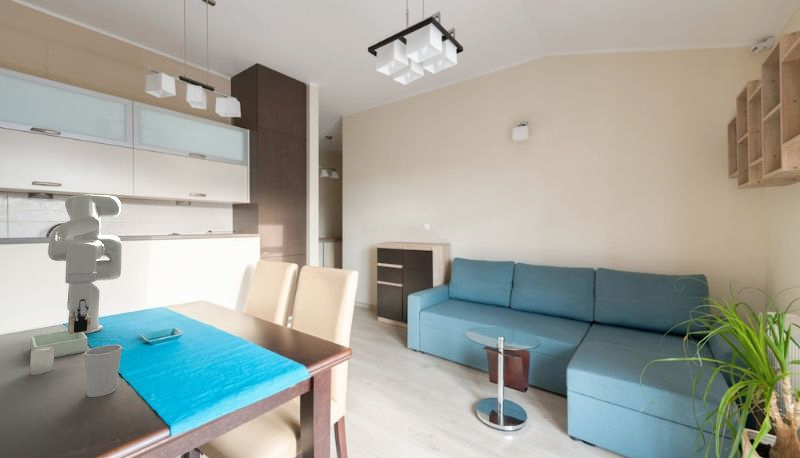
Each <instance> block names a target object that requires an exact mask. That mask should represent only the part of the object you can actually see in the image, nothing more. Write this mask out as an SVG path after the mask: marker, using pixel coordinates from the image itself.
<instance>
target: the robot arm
mask: <svg viewBox="0 0 800 458" xmlns="http://www.w3.org/2000/svg"><path fill="white" fill-rule="evenodd" d="M121 204H122V203H121V201H120V200H119V198H118V197H116V196H113V195H104V194H103V195H102V194H101V195H99V194H88V193H87V194H79V195H72V196H68V197H67V198H66V199H65V201H64V205H65V210H66V212H67V214H68V217H69V218H70V219H69V220H67V221H65V222H63V223H61V224H60V225H59V226H57V227H56V228H55V229H54V230H53V231H52V232H51V233H50V237H49V241H48V246H47V247H48V248H47V255H48V257H49V259H51V260H52V261H54V262H65V281H64V282H65V284H68V291H67V304H66V308H67V310H68V316H74V315H75V321H74V332H75V333H77V332H83V331H86V332H84V334H85V335H86V334H91V333H96V332H98V331H101V330H102V329H103V328H104V327H103V325H102V324H99V318H100V317H99V316H100V312H99V311H100V288H99V287H98V286H97V285H95V284H94V283H95V282H96V281H97V282H98V281H99V282H100V281H110V280H117V279H118V278H120V276H121V274H122V251H123V250H122V241H121V239H120V237H118V236H117V235H101V217H108V218H115V217H118V216H119V215H120V212H121V209H122V207H121V206H122V205H121ZM69 238H73V239H69ZM102 257H106V258H108V259H104V258H103V259H101V258H102ZM87 314H89V315H90V316H91V327H90V331H87V321H88V319H87ZM66 330H68V328H65V329H64V330H63V331H66Z"/></svg>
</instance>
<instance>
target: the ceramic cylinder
mask: <svg viewBox="0 0 800 458" xmlns="http://www.w3.org/2000/svg"><path fill="white" fill-rule="evenodd" d="M54 360H55V358H54V347H44V348H39V349H35V350H32V351H31V350H30V363H29V364H30V365H29V366H30V367H29V375H31V376H37V375H38V376H39V375H43V374H47V373H49V372H50V373H51V372H52V371H53V370H54Z"/></svg>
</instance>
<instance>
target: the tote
mask: <svg viewBox="0 0 800 458" xmlns="http://www.w3.org/2000/svg"><path fill="white" fill-rule="evenodd" d="M65 330H66V329H65ZM88 343H89V342H88V336H87V335H86V334H84V332H80V333H74V334H70V333H69V332H68V330H66V331H64V330H60V331H54V332H53V331H52V332H48V333H40V334H34V335H31V336H30V352H31V351H32V350H35V349H39V348H44V347H54V359H55V358H59V357H64V356H70V355H75V354H80V353H85V352H86V351H87V350H88Z"/></svg>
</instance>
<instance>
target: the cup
mask: <svg viewBox="0 0 800 458" xmlns="http://www.w3.org/2000/svg"><path fill="white" fill-rule="evenodd" d="M122 351H123V346H122V345H121V344H106V345H102V346H101V345H99V346H96V347H93V348H89V349H87V351H86V352H83V353H84V354H83V355H84V363H85V366H84V367H85V377H86V396H87V397H89V398H98V397H103V396H105V395H109V394H111V393H114V392H115V391H117V389H118V377H119V369H120V361H121V357H122Z"/></svg>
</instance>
